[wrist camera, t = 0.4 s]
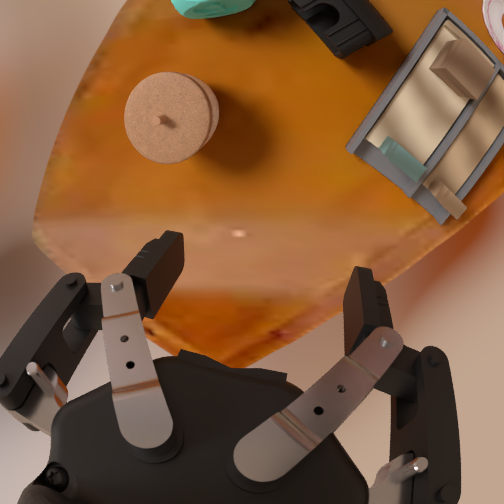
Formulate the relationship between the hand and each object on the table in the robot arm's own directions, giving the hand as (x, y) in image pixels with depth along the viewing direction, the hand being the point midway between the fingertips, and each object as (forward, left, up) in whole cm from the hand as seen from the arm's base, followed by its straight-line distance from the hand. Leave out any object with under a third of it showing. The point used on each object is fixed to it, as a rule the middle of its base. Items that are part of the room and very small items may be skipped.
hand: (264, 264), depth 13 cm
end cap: (-17, -4, -27) cm, 32 cm away
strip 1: (-16, +10, -26) cm, 32 cm away
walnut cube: (-21, +10, -24) cm, 33 cm away
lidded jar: (+3, -14, -27) cm, 30 cm away
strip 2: (-16, +18, -26) cm, 36 cm away
